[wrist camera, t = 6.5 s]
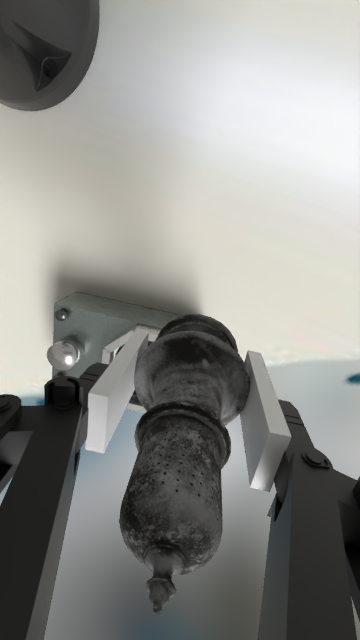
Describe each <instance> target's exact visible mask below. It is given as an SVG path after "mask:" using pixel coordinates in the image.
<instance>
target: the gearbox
mask: <svg viewBox="0 0 360 640" xmlns="http://www.w3.org/2000/svg"><path fill="white" fill-rule="evenodd" d="M177 317H181V315H176V314H172V313H168V312H163V311H159V310H155V309H150V308H146V307H142V306H137V305H133V304H128V303H124V302H120V301H115V300H111V299H107V298H102V297H98V296H94V295H89V294H85V293H81V292H76V293H74V294H72V295H70V296H68V297H66V298H64V299H62V300H60V301H58V302H56V303H55V304H54V336H53V345H52V346H51V347H50V348H49V349H48V352H47V358H48V360H49V362H50V364H51V365H52V366H53V368H52V379H53V378H57V377H60V376H71V377H76V378H79V377H80V376H81V375H82V373H84V371H85V370H86V369H87V368H88V367H89V366H91V365H93V364H95V363H97V362H99V363H104V364H108V365H110V364H111V362H112V361H113V360H114V358H115V357H116V356H117V354H118V353H119V352H120V350H121V349H122V348H123V346H124V345H125V344H126V342H127V341H128V340H129V338H130V337H131V336H132V334H133V333H134V332H135V330H136V329H137V328H139V329H144V330H149V338H148V345H147V347H148V346H149V345H150V344H151V343H152V342H154V341H155V340H156V338H157V336H158V334H159V332H160V331H161V329H162V328H163V327H164V326H165V325H166V324H167V323H169V322H170V321H172V320H174V319H176V318H177ZM126 409H130V410H134V411H138V412H143V413H146V412H147V411H146V410H145V408H144V407H143V406H142V404H141V403H140V401H139V399H138V396H137V394H136V391H135V390H134V392H133V394H132V396H131V398H130V400H129V402H128V405H127V407H126Z"/></svg>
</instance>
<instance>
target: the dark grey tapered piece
mask: <svg viewBox="0 0 360 640" xmlns="http://www.w3.org/2000/svg"><path fill="white" fill-rule="evenodd" d="M134 385H135V391H136V394H137V396H138V399H139V401H140V403H141V404H142V406H143V407H144V408H145V410H146V411H147V412H146V413H145V414H144V415H143V416H142V417H141V419H140V420H139V422H138V424H137V426H136V431H135V443H136V447H137V450H138V452H139V453H138V456H137V459H136V462H135V465H134V468H133V471H132V474H131V477H130V480H129V483H128V486H127V489H126V492H125V495H124V498H123V501H122V505H121V510H120V519H119V523H120V528H121V533H122V536H123V539H124V542H125V544H126V546H127V548H128V549H129V550H130V552H132V554H133V555H134V556H135V557H136V558H137V559H138V560H139V561H140V562H141V563H143V564H144V565H145V566H146V567H148V568H149V569H150V570H151V571H152V572H153V577H152V578H151V579H150V580H148V581H147V583H146V586H145V588H146V589H147V591H148V592H149V593H150V595H149V600H150V602H151V603H152V605H153V610H154V612H155V613H156V614H160V613H161V611H162V608H164V607H165V606H167V604H168V602H169V599H170V598H171V597H173V596H175V593H176V589H175V586H174V584H173V583H172V581H171V578H172V577H173V576H176V575H183V574H187V573H190V572H192V571H195V570H197V569H199V568H201V567H203V566H205V564H206V563H207V562H208V561H209V560H210V559H211V558H212V557H213V555H214V553H215V552H216V551H217V549H218V546H219V544H220V541H221V535H222V494H221V493H222V491H221V469H222V468H223V466H224V465H225V464H226V463H227V461H228V458H229V456H230V453H231V440H230V437H229V434H228V431H227V429H226V427H225V425H227V424H228V423H229V422H231V421H232V420H233V419H235V418H236V417H237V416H238V415H239V414H240V412H241V411H242V410H243V408H244V407H245V404H246V401H247V398H248V395H249V391H250V379H249V375H248V371H247V367H246V365H245V363H244V362H243V360H242V358H241V357H240V355H239V354H238V349H237V345H236V341H235V339H234V337H233V335H232V334H231V332H230V331H229V330H228V329H227V328H226V327H225V326H224V325H223V324H222V323H221V322H219V321H217V320H215V319H213V318H211V317H208V316H204V315H185V316H181V317H177V318H176V319H174V320H172V321H170V322H169V323H167V324H166V325H165V326H164V327H163V328H162V329H161V331H160V332H159V334H158V336H157V338H156V340H155V341H154V342H152V343H151V344H150V345H149V346H148V347H147V348H146V349H145V350H144V351H143V353H142V355H141V356H140V358H139V360H138V362H137V364H136V368H135V373H134Z"/></svg>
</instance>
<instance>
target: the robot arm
mask: <svg viewBox="0 0 360 640" xmlns="http://www.w3.org/2000/svg"><path fill="white" fill-rule="evenodd" d="M98 29H99V0H0V103H2V104H4V105H6V106H8V107H11V108H14V109H18V110H24V111H38V110H43V109H47V108H50V107H52V106H55V105H57V104H58V103H60V102H62V101H63V100H64V99H66V98H67V97H68V96H69V95H70V94H71V93H72V92H73V91H74V90H75V89H76V88H77V87H78V85H79V84H80V82H81V81H82V79H83V78H84V76H85V74H86V72H87V70H88V68H89V66H90V63H91V61H92V58H93V55H94V51H95V47H96V43H97V37H98ZM148 338H149V330H144V329H139V328H137V329H136V330H135V332H134V333H133V334H132V336H131V337H130V338H129V340H128V341H127V342H126V344H125V345H124V346H123V348H122V349H121V350H120V352H119V353H118V354H117V356H116V357H115V358H114V360H113V361H112V362H111V364H110V365H108V364H104V363H99V362H97V363H95V364H93V365H91V366H89V367H88V368H87V369H86V370H85V371H84V373H82V375H81V376H80V377H79V378H76V377H71V376H60V377H57V378H53V379H52V380H50V381H48V382H47V383H46V384H45V386H44V388H45V405H40V406H21V399H20V398H19V397H17V396H14V395H8V394H4V395H0V493H1V492H2V490H3V489H4V488H5V486H6V485H7V483H8V482H9V481H10V479H11V478H12V477H13V478H12V481H11V483H10V485H9V487H8V489H7V492H6V494H5V497H4V499H3V501H2V503H1V505H0V640H44V635H45V630H46V625H47V619H48V614H49V610H50V604H51V599H52V595H53V590H54V585H55V580H56V575H57V570H58V565H59V559H60V554H61V550H62V545H63V540H64V535H65V530H66V524H67V520H68V515H69V510H70V504H71V500H72V495H73V490H74V485H75V480H76V474H77V470H78V465H79V460H80V448H81V447H82V445H83V443H84V442H85V440H86V450H90V451H94V452H99V453H104V452H105V450H106V448H107V446H108V444H109V442H110V440H111V438H112V436H113V433H114V431H115V429H116V427H117V425H118V423H119V421H120V419H121V417H122V415H123V413H124V411H125V409H126V407H127V405H128V402H129V400H130V398H131V396H132V394H133V392H134V390H135V385H134V373H135V368H136V364H137V362H138V360H139V358H140V356H141V355H142V353H143V351H144V350H145V349H146V348H147V345H148ZM244 363H245V365H246V367H247V371H248V375H249V379H250V391H249V395H248V398H247V401H246V404H245V407H244V408H243V410H242V411H241V412H240V417H241V425H242V432H243V439H244V447H245V453H246V461H247V468H248V475H249V483H250V487H251V488H255V489H259V490H263V491H268V492H270V490H271V488H272V485H273V482H274V483H275V487H276V491H277V493H276V495H275V498H274V500H273V503H272V505H271V508H270V510H269V513H268V515H267V516H269V517H271V524H270V534H269V542H268V551H267V560H266V569H265V578H264V587H263V596H262V605H261V614H260V623H259V632H258V640H357V636H356V629H355V622H354V615H353V607H352V601H351V597H352V600H353V603H354V606H355V609H356V612H357V615H358V618H359V621H360V477H359V479H358V480H355V479H353V478H351V477H349V476H346V475H344V474H342V473H340V472H338V471H336V470H334V469H333V466H332V464H331V462H330V461H329V459H328V458H327V457H326V456H325V455H324V454H323V453H321V452H320V451H318V450H317V449H315V448H314V446H313V443H312V442H311V439H310V437H309V435H308V433H307V430H306V428H305V426H304V424H303V422H302V420H301V417H300V415H299V412H298V410H297V409H296V408H295V407H294V406H293V405H292V404H291V403H290V402H287V401H282V400H278V399H277V396H276V393H275V390H274V388H273V385H272V382H271V380H270V377H269V374H268V371H267V369H266V366H265V363H264V360H263V358H262V355H261V353H258V352H253V351H248V352H247V355H246V359H245V362H244ZM13 475H14V476H13ZM271 514H272V515H271Z"/></svg>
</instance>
